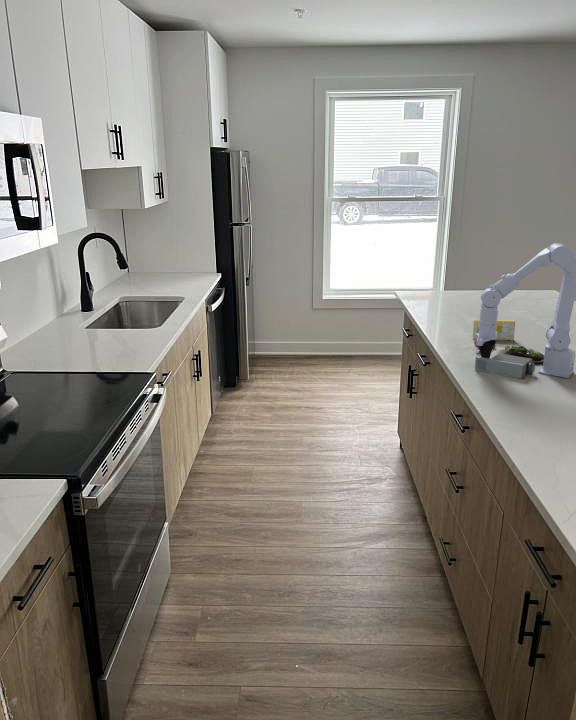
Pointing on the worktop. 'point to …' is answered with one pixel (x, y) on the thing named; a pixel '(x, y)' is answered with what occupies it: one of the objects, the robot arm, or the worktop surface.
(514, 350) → the salad plate
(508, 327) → the candy box
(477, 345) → the video game controller
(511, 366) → the side door
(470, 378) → the worktop surface
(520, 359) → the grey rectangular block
